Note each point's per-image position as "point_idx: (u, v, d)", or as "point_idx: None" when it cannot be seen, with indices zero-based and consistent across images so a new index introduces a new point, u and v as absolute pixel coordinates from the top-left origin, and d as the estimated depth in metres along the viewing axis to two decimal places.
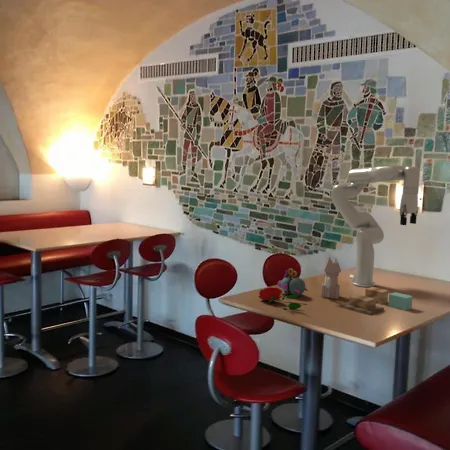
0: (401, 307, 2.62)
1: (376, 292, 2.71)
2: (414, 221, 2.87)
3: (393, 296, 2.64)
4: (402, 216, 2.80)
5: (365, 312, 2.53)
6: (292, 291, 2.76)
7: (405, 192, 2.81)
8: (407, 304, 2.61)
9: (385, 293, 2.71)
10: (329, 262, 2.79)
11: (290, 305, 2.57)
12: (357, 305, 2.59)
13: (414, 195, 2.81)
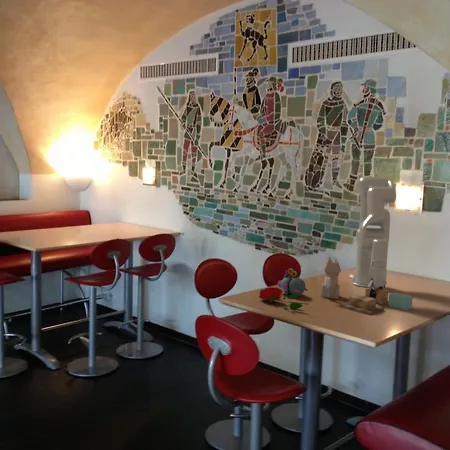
0: (401, 307, 2.61)
1: (376, 292, 2.71)
2: None
3: (393, 296, 2.64)
4: (371, 292, 2.71)
5: (365, 312, 2.53)
6: (292, 291, 2.76)
7: (373, 266, 2.70)
8: (407, 304, 2.61)
9: (385, 293, 2.71)
10: (329, 262, 2.79)
11: (291, 305, 2.57)
12: (357, 305, 2.59)
13: (382, 269, 2.70)
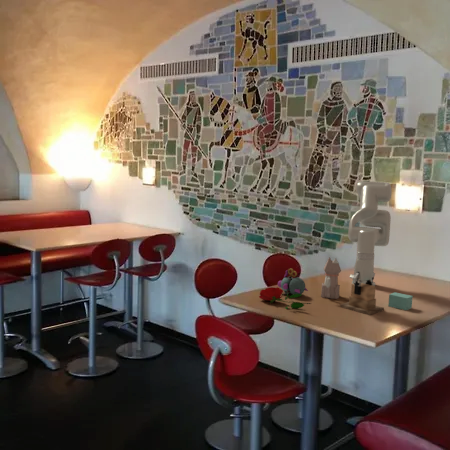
0: (402, 307, 2.61)
1: (362, 288, 2.56)
2: None
3: (393, 296, 2.64)
4: (356, 285, 2.55)
5: (365, 312, 2.53)
6: (292, 291, 2.76)
7: (359, 258, 2.56)
8: (408, 304, 2.61)
9: (372, 289, 2.57)
10: (329, 262, 2.79)
11: (293, 305, 2.58)
12: (357, 305, 2.59)
13: (369, 261, 2.56)
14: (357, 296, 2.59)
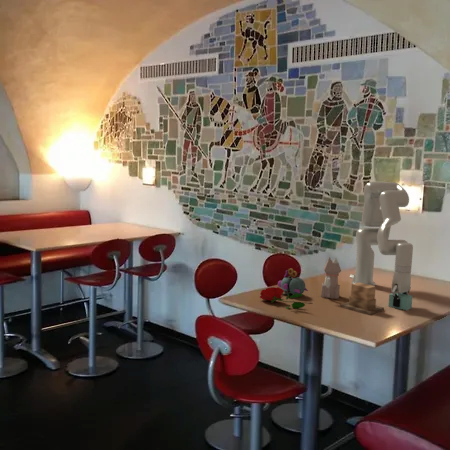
0: (402, 307, 2.61)
1: (362, 288, 2.56)
2: None
3: None
4: (395, 298, 2.61)
5: (365, 312, 2.53)
6: (292, 291, 2.76)
7: (397, 270, 2.61)
8: (408, 304, 2.61)
9: (372, 289, 2.57)
10: (329, 262, 2.79)
11: (294, 304, 2.58)
12: (357, 305, 2.59)
13: (407, 274, 2.61)
14: (357, 296, 2.59)
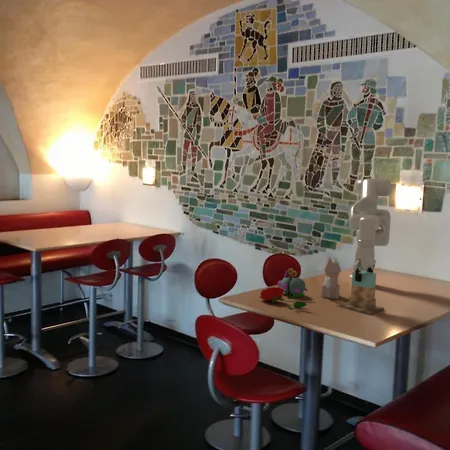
0: (365, 285, 2.56)
1: (362, 288, 2.56)
2: None
3: None
4: (357, 272, 2.54)
5: (365, 312, 2.53)
6: (292, 291, 2.76)
7: (360, 245, 2.55)
8: (371, 281, 2.55)
9: (372, 289, 2.57)
10: (329, 262, 2.79)
11: (295, 304, 2.59)
12: (357, 305, 2.59)
13: (370, 248, 2.55)
14: (357, 296, 2.59)
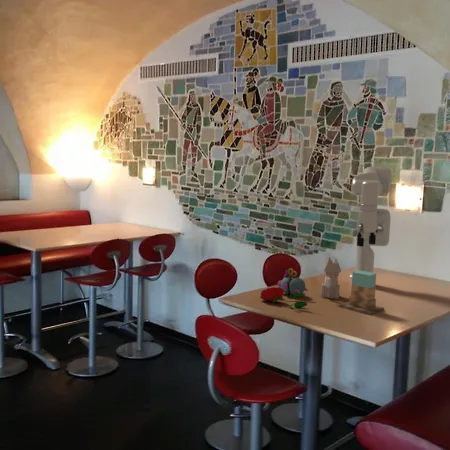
0: (365, 285, 2.56)
1: (362, 288, 2.56)
2: (373, 241, 2.59)
3: (357, 274, 2.58)
4: (359, 236, 2.52)
5: (365, 312, 2.53)
6: (292, 291, 2.76)
7: (362, 210, 2.53)
8: (371, 281, 2.55)
9: (372, 289, 2.57)
10: (329, 262, 2.79)
11: (296, 304, 2.59)
12: (357, 305, 2.59)
13: (372, 213, 2.53)
14: (357, 296, 2.59)
